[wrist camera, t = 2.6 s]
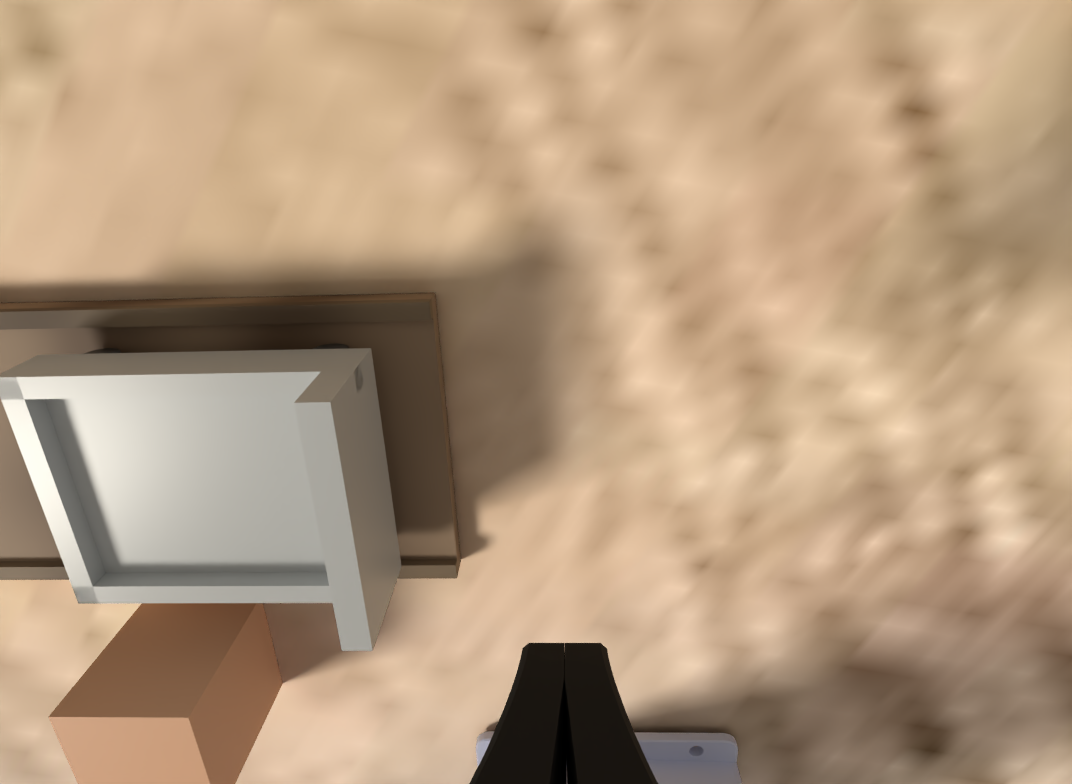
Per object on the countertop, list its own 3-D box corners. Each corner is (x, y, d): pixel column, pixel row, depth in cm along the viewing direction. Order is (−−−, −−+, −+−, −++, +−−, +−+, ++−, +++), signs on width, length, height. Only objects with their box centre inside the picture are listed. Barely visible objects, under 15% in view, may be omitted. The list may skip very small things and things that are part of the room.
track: (435, 292, 19) (416, 322, 16) (460, 560, 22) (448, 616, 20) (-283, 309, 20) (-399, 339, 17) (-149, 563, 23) (-229, 616, 21)
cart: (380, 335, 19) (330, 402, 15) (408, 546, 22) (372, 650, 18) (63, 342, 19) (-70, 408, 15) (130, 548, 22) (34, 650, 18)
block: (261, 595, 23) (188, 718, 19) (282, 682, 25) (220, 814, 20) (147, 595, 24) (48, 717, 19) (176, 682, 25) (90, 813, 21)
